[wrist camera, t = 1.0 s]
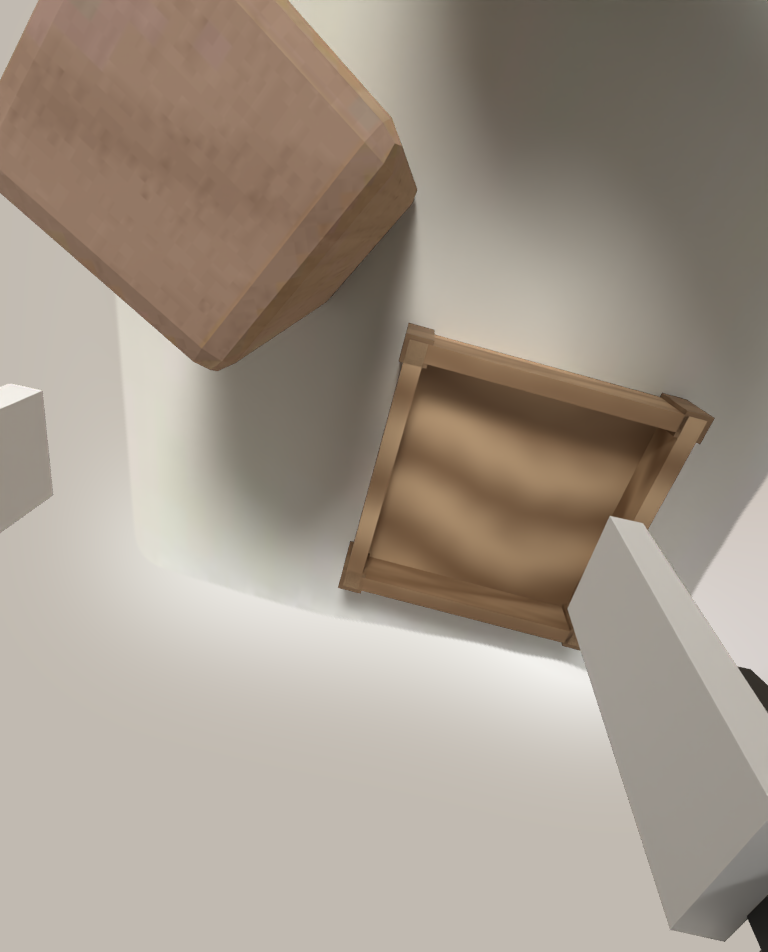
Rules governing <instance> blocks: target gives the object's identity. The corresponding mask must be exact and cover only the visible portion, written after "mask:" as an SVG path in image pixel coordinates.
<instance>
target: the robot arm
mask: <svg viewBox="0 0 768 952" xmlns="http://www.w3.org/2000/svg"><path fill="white" fill-rule="evenodd" d="M52 495H53V489H52V479H51V469H50V459H49V450H48V440H47V430H46V421H45V410H44V401H43V391H42V390H37V389H33V388H28V387H24V386H19V385H14V384H10V383H9V384H7V385H4V386H1V387H0V533H1V532H2V531H4V530H5V529H7V528H8V527H9V526H11V525H12V524H14V523H15V522H16V521H18V520H19V519H20V518H22V517H23V516H25V515H26V514H27V513H29V512H30V511H32V510H33V509H35V508H36V507H37V506H39V505H40V504H41V503H43V502H44V501H46V500H47V499H49V498H50V497H51V496H52ZM567 609H568V612H569V616H570V619H571V622H572V625H573V628H574V631H575V634H576V637H577V641H578V644H579V647H580V650H581V653H582V656H583V659H584V662H585V665H586V669H587V672H588V675H589V678H590V681H591V684H592V687H593V690H594V694H595V697H596V700H597V703H598V706H599V709H600V712H601V715H602V718H603V722H604V725H605V728H606V731H607V734H608V737H609V740H610V743H611V747H612V750H613V753H614V756H615V759H616V762H617V765H618V768H619V771H620V775H621V778H622V781H623V784H624V787H625V790H626V793H627V797H628V800H629V803H630V806H631V809H632V812H633V815H634V818H635V821H636V825H637V828H638V831H639V834H640V837H641V840H642V843H643V847H644V849H645V853H646V856H647V859H648V862H649V865H650V868H651V871H652V875H653V878H654V881H655V884H656V887H657V890H658V893H659V896H660V899H661V903H662V906H663V909H664V912H665V915H666V918H667V921H668V925H669V928H670V930H674V931H679V932H684V933H688V934H692V935H697V936H702V937H706V938H710V939H715V940H720V941H724V942H725V941H726V940H727V939H728V938H729V937H730V936H731V935H732V934H733V933H734V932H735V931H736V930H737V929H738V928H739V927H740V926H741V925H742V924H743V923H744V922H745V921H746V920H747V919H748V920H749V923H750V925H751V927H752V930H753V932H754V934H755V936H756V938H757V941H758V943H759V946H760V948H761V951H760V952H768V685H767V684H766V683H765V682H764V681H762V680H761V679H760V678H759V677H758V676H757V675H756V674H755V673H754V672H753V671H752V670H751V669H746V668H742V667H737V666H736V664H735V663H734V661H733V660H732V658H731V657H730V655H729V653H728V652H727V650H726V649H725V647H724V646H723V644H722V643H721V641H720V640H719V638H718V637H717V635H716V634H715V632H714V631H713V629H712V628H711V626H710V625H709V623H708V622H707V620H706V619H705V617H704V615H703V614H702V612H701V611H700V609H699V608H698V606H697V605H696V604H695V602H694V600H693V599H692V597H691V596H690V594H689V593H688V591H687V590H686V588H685V586H684V585H683V583H682V582H681V580H680V579H679V577H678V576H677V574H676V573H675V571H674V570H673V568H672V567H671V565H670V564H669V562H668V561H667V559H666V558H665V556H664V555H663V553H662V551H661V550H660V548H659V547H658V545H657V544H656V542H655V541H654V539H653V538H652V536H651V535H650V533H649V532H648V530H647V529H646V527H645V526H644V524H643V523H640V522H635V521H631V520H626V519H622V518H617V517H613V516H609V519H608V521H607V523H606V525H605V527H604V530H603V532H602V534H601V536H600V538H599V541H598V543H597V545H596V547H595V549H594V552H593V554H592V556H591V558H590V560H589V562H588V565H587V567H586V569H585V571H584V573H583V576H582V578H581V580H580V582H579V584H578V587H577V589H576V591H575V593H574V595H573V597H572V600H571V602H570V604H569V606H568V608H567Z"/></svg>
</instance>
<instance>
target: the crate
mask: <svg viewBox="0 0 768 952" xmlns="http://www.w3.org/2000/svg"><path fill="white" fill-rule="evenodd" d="M399 362H403V363H402V367H401V371H400V374H399V378H398V382H397V385H396V389H395V393H394V396H393V400H392V404H391V407H390V411H389V415H388V418H387V422H386V426H385V429H384V433H383V437H382V441H381V444H380V448H379V452H378V455H377V459H376V463H375V466H374V470H373V474H372V477H371V481H370V485H369V488H368V492H367V496H366V499H365V503H364V507H363V511H362V514H361V518H360V522H359V525H358V529H357V533H356V536H355V540H354V542H351V541H350V545H349V548H348V552H347V556H346V560H345V563H344V567H343V571H342V575H341V579H340V582H339V586H338V588H341V589H345V590H349V591H353V592H357V593H360V594H361V591H365V592H369V593H373V594H377V595H381V596H385V597H388V598H392V599H396V600H400V601H404V602H408V603H412V604H415V605H419V606H423V607H427V608H431V609H435V610H439V611H442V612H446V613H450V614H454V615H458V616H462V617H466V618H469V619H473V620H477V621H481V622H485V623H489V624H493V625H496V626H500V627H504V628H508V629H512V630H516V631H520V632H523V633H527V634H531V635H535V636H539V637H543V638H547V639H551V640H554V641H558V642H562V646H565V647H569V648H573V649H577V650H580V647H579V644H578V641H577V637H576V634H575V631H574V628H573V625H572V622H571V619H570V616H569V612H568V609H567V608H568V606H569V604H570V602H571V600H572V597H573V595H574V593H575V591H576V589H577V587H578V584H579V582H580V580H581V578H582V576H583V573H584V571H585V569H586V567H587V565H588V562H589V560H590V558H591V556H592V554H593V552H594V549H595V547H596V545H597V543H598V541H599V538H600V536H601V534H602V532H603V530H604V527H605V525H606V523H607V521H608V519H609V516H613V517H617V518H622V519H626V520H631V521H635V522H640V523H643V524H644V526H645V527H646V529H647V530H648V528H649V526H650V525H651V523H652V521H653V519H654V517H655V516H656V514H657V512H658V510H659V508H660V506H661V505H662V503H663V501H664V499H665V497H666V496H667V494H668V492H669V490H670V488H671V487H672V485H673V483H674V481H675V479H676V478H677V476H678V474H679V472H680V470H681V469H682V467H683V465H684V463H685V461H686V459H687V458H688V456H689V454H690V452H691V450H692V449H693V447H694V445H695V443H698V444H700V443H701V442H702V440H703V438H704V436H705V434H706V433H707V431H708V429H709V427H710V426H711V424H712V422H713V420H714V417H712V416H711V415H709V414H708V413H706V412H705V411H703V410H701V409H700V408H698V407H697V406H695V405H694V404H692V403H691V402H689V401H688V400H686V399H682V398H679V397H675V396H671V395H668V394H664V393H662V394H661V396H660V397H658V396H655V395H651V394H647V393H644V392H640V391H637V390H633V389H629V388H626V387H622V386H619V385H615V384H611V383H608V382H604V381H600V380H597V379H593V378H590V377H586V376H582V375H579V374H575V373H571V372H568V371H564V370H561V369H557V368H553V367H550V366H546V365H542V364H539V363H535V362H532V361H528V360H524V359H521V358H517V357H514V356H510V355H506V354H503V353H499V352H495V351H492V350H488V349H485V348H481V347H477V346H474V345H470V344H466V343H463V342H459V341H456V340H452V339H448V338H445V337H441V336H437V335H434V330H433V329H429V328H425V327H422V326H418V325H415V324H411V323H409V324H408V328H407V332H406V335H405V339H404V343H403V347H402V351H401V354H400V358H399Z"/></svg>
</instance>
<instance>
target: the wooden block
mask: <svg viewBox="0 0 768 952" xmlns="http://www.w3.org/2000/svg"><path fill="white" fill-rule="evenodd" d="M416 192H417V188H416V185H415V182H414V179H413V176H412V173H411V170H410V167H409V165H408V162H407V159H406V156H405V153H404V150H403V147H402V144H401V142H400V139H399V136H398V134H397V131H396V128H395V125H394V123H393V120H392V118H391V116H390V115H389V114H388V113H387V112H386V111H385V110H384V109H383V107H382V106H381V105H380V104H379V103H378V102H377V101H376V100H375V98H374V97H373V96H372V95H371V94H370V93H369V92H368V90H367V89H366V88H365V87H364V86H363V85H362V84H361V83H360V81H359V80H358V79H357V78H356V77H355V76H354V75H353V73H352V72H351V71H350V70H349V69H348V68H347V67H346V66H345V64H344V63H343V62H342V61H341V60H340V59H339V58H338V56H337V55H336V54H335V53H334V52H333V51H332V50H331V49H330V47H329V46H328V45H327V44H326V43H325V42H324V41H323V39H322V38H321V37H320V36H319V35H318V34H317V33H316V32H315V30H314V29H313V28H312V27H311V26H310V25H309V24H308V22H307V21H306V20H305V19H304V18H303V17H302V16H301V15H300V13H299V12H298V11H297V10H296V9H295V8H294V7H293V5H292V4H291V3H290V2H289V1H288V0H39V1H38V3H37V5H36V7H35V9H34V11H33V13H32V15H31V17H30V19H29V21H28V24H27V25H26V28H25V30H24V32H23V34H22V36H21V38H20V40H19V42H18V44H17V46H16V48H15V51H14V53H13V55H12V57H11V59H10V61H9V63H8V65H7V67H6V69H5V71H4V73H3V75H2V77H1V80H0V193H1V194H2V195H3V196H4V197H6V198H7V199H8V200H9V201H10V202H11V203H12V204H14V205H15V206H16V207H17V208H18V209H19V210H20V211H22V212H23V213H24V214H25V215H26V216H27V217H28V218H30V219H31V220H32V221H33V222H34V223H35V224H36V225H38V226H39V227H40V228H41V229H42V230H43V231H44V232H46V233H47V234H48V235H49V236H50V237H51V238H53V239H54V240H55V241H56V242H57V243H58V244H59V245H61V246H62V247H63V248H64V249H65V250H66V251H67V252H69V253H70V254H71V255H72V256H73V257H74V258H75V259H77V260H78V261H79V262H80V263H81V264H82V265H83V266H85V267H86V268H87V269H88V270H89V271H90V272H91V273H93V274H94V275H95V276H96V277H97V278H98V279H99V280H101V281H102V282H103V283H104V284H105V285H106V286H107V287H109V288H110V289H111V290H112V291H113V292H114V293H115V294H117V295H118V296H119V297H120V298H121V299H122V300H123V301H125V302H126V303H127V304H128V305H129V306H130V307H132V308H133V309H134V310H135V311H136V312H137V313H138V314H140V315H141V316H142V317H143V318H144V319H145V320H146V321H148V322H149V323H150V324H151V325H152V326H153V327H154V328H156V329H157V330H158V331H159V332H160V333H161V334H162V335H164V336H165V337H166V338H167V339H168V340H169V341H170V342H172V343H173V344H174V345H175V346H176V347H177V348H178V349H180V350H181V351H182V352H183V353H184V354H185V355H186V356H188V357H189V358H190V359H191V360H192V361H193V362H195V363H197V364H200V365H202V366H204V367H206V368H208V369H210V370H214V371H219V370H221V369H223V368H225V367H227V366H230V365H232V364H234V363H236V362H238V361H239V360H241V359H242V358H243V357H245V356H246V355H248V354H249V353H251V352H252V351H254V350H255V349H257V348H258V347H260V346H261V345H263V344H264V343H266V342H267V341H269V340H270V339H272V338H273V337H275V336H276V335H278V334H279V333H281V332H282V331H284V330H285V329H287V328H288V327H290V326H291V325H293V324H294V323H296V322H297V321H299V320H300V319H302V318H303V317H305V316H306V315H308V314H309V313H311V312H312V311H314V310H315V309H317V308H318V307H320V306H321V305H323V304H324V303H326V302H327V301H328V300H329V299H330V297H331V296H332V295H333V294H334V293H335V292H336V291H337V289H338V288H339V287H340V286H341V285H342V284H343V282H344V281H345V280H346V279H347V278H348V277H349V276H350V274H351V273H352V272H353V271H354V270H355V269H356V267H357V266H358V265H359V264H360V263H361V262H362V261H363V259H364V258H365V257H366V256H367V255H368V254H369V253H370V251H371V250H372V249H373V248H374V247H375V246H376V244H377V243H378V242H379V241H380V240H381V239H382V238H383V236H384V235H385V234H386V233H387V232H388V231H389V229H390V228H391V227H392V226H393V225H394V224H395V223H396V221H397V220H398V219H399V218H400V217H401V216H402V214H403V213H404V212H405V211H406V210H407V209H408V208H409V206H410V205H411V204H412V203H413V200H414V197H415V195H416Z"/></svg>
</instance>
